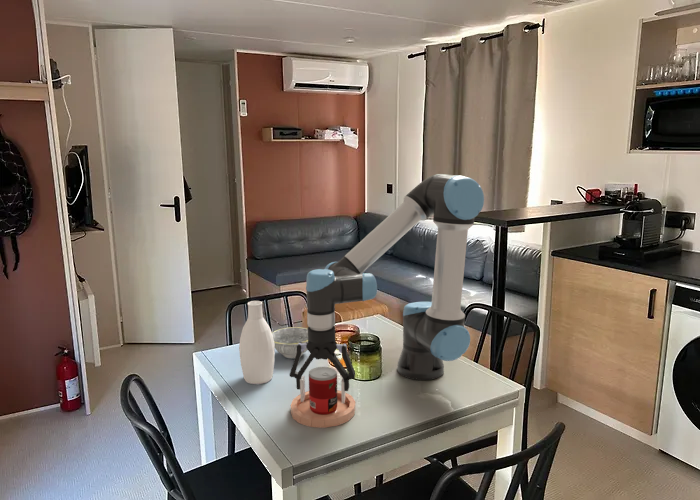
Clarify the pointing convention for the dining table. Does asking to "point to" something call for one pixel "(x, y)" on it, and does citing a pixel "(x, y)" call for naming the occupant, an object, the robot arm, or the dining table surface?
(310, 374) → the canned food
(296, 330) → the bowl
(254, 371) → the bottle
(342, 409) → the tray
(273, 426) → the dining table surface
